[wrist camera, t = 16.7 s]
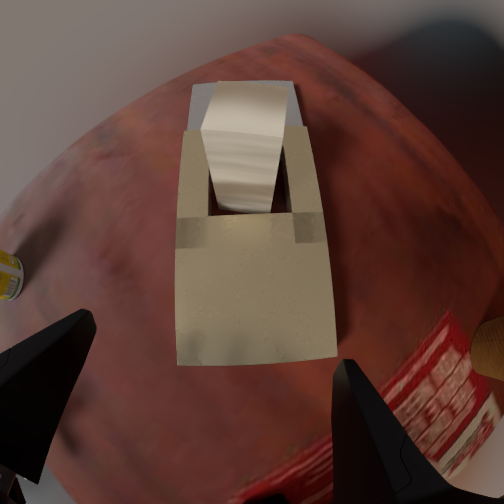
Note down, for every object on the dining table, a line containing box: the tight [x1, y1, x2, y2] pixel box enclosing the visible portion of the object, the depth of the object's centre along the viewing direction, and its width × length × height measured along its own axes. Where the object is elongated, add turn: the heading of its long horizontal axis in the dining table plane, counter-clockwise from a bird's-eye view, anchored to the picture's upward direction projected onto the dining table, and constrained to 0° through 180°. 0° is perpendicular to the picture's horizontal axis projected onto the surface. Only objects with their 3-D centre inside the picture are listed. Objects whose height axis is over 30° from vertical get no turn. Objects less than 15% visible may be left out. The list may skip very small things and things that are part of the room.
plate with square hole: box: [175, 81, 337, 366], centre depth 24 cm, size 30×12×2 cm, turn 3°
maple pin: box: [200, 81, 289, 214], centre depth 20 cm, size 5×5×11 cm
